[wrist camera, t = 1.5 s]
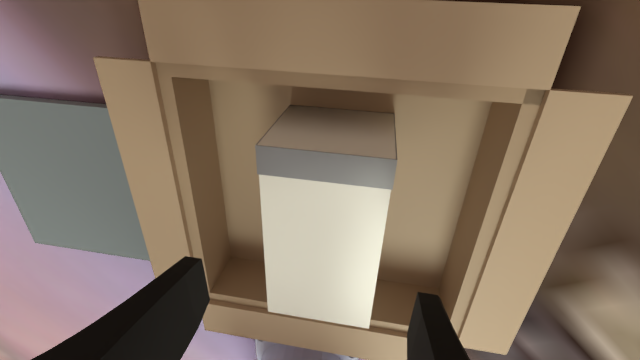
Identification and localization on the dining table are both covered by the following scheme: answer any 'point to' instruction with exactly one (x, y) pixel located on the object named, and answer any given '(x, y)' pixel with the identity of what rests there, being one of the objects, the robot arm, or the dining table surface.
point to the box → (325, 210)
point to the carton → (411, 138)
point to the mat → (68, 175)
